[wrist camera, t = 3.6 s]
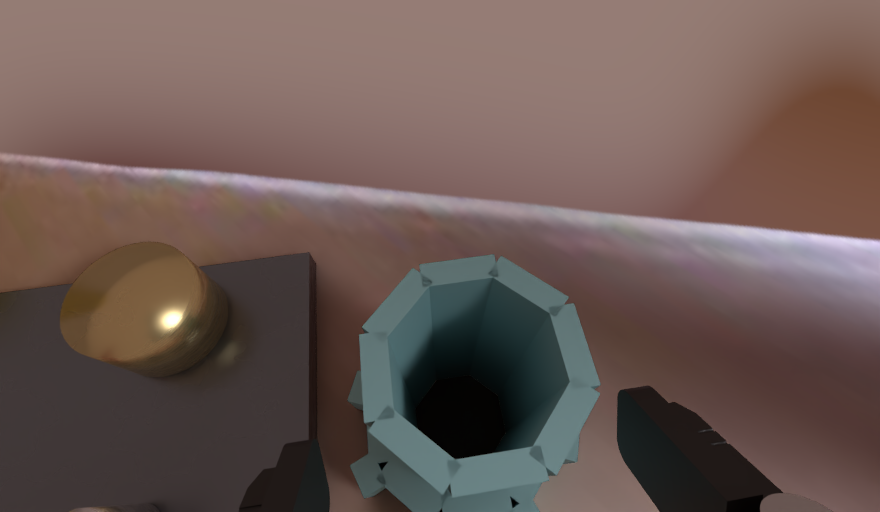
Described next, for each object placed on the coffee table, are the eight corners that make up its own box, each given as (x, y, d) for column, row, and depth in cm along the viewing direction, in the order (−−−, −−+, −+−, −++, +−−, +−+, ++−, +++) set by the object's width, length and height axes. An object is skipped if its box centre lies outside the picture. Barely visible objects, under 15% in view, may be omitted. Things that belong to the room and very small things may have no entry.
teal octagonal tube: (532, 311, 20) (604, 175, 11) (590, 522, 16) (778, 575, 7) (353, 337, 19) (276, 216, 10) (364, 563, 15) (253, 677, 6)
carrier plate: (316, 263, 21) (289, 217, 17) (318, 833, 12) (262, 990, 8) (-37, 311, 20) (-145, 272, 16) (-327, 976, 11) (-720, 1229, 7)
